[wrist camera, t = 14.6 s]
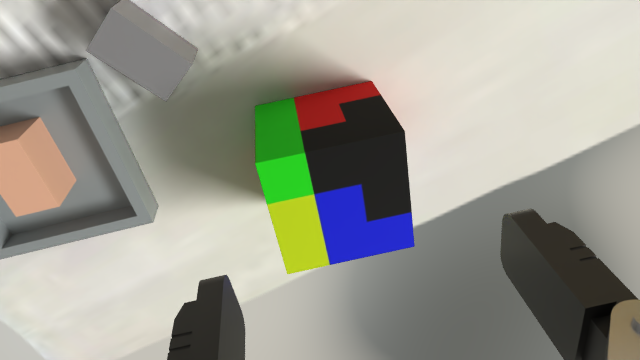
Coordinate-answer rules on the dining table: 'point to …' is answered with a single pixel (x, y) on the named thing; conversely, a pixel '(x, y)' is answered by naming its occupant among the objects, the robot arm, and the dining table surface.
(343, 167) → the puzzle toy
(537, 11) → the dining table surface
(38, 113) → the slate tray
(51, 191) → the terracotta brick
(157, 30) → the charcoal brick
